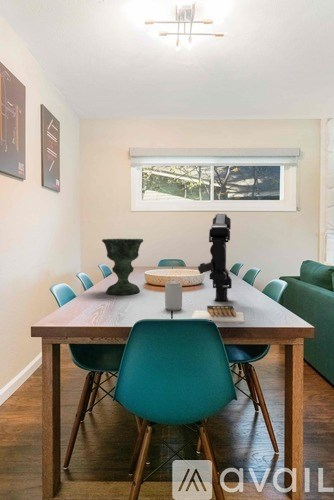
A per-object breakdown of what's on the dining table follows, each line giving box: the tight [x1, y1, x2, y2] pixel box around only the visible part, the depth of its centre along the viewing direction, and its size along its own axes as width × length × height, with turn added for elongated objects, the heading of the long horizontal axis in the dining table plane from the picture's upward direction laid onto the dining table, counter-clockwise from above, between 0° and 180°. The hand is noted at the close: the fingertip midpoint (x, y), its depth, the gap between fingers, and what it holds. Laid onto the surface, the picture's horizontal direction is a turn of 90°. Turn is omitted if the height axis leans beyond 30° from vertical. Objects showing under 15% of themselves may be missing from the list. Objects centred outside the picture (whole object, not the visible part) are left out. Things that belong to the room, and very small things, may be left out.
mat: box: [190, 309, 245, 324], centre depth 133 cm, size 14×20×1 cm
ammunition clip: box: [206, 305, 236, 317], centre depth 135 cm, size 11×2×12 cm
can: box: [164, 280, 183, 311], centre depth 147 cm, size 8×8×12 cm
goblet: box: [101, 238, 144, 296], centre depth 185 cm, size 22×23×30 cm
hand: (218, 294), depth 137 cm, fingers closed
